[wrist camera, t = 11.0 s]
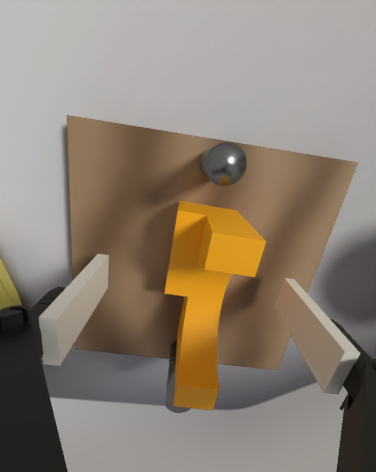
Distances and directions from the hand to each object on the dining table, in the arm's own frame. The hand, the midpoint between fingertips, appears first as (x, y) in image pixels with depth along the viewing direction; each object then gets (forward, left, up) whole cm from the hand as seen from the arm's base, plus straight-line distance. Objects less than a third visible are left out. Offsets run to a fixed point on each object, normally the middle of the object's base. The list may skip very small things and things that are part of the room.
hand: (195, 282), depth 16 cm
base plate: (0, 0, -3) cm, 3 cm away
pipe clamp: (0, 0, -2) cm, 2 cm away
